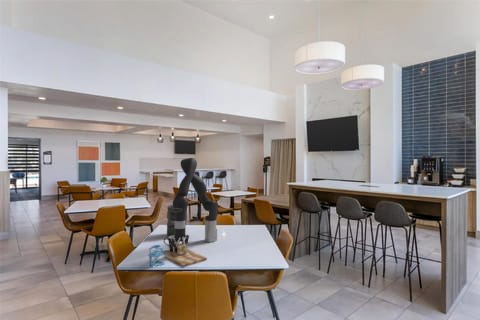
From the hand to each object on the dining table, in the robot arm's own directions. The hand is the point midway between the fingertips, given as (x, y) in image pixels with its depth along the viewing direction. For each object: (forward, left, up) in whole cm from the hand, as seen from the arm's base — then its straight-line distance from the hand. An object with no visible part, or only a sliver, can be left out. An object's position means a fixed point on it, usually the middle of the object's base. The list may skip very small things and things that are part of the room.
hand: (179, 251), depth 187 cm
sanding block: (0, 0, -2) cm, 2 cm away
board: (0, +7, -3) cm, 8 cm away
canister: (-24, -45, -3) cm, 51 cm away
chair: (+20, +4, -3) cm, 21 cm away
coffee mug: (-2, -13, -3) cm, 13 cm away
